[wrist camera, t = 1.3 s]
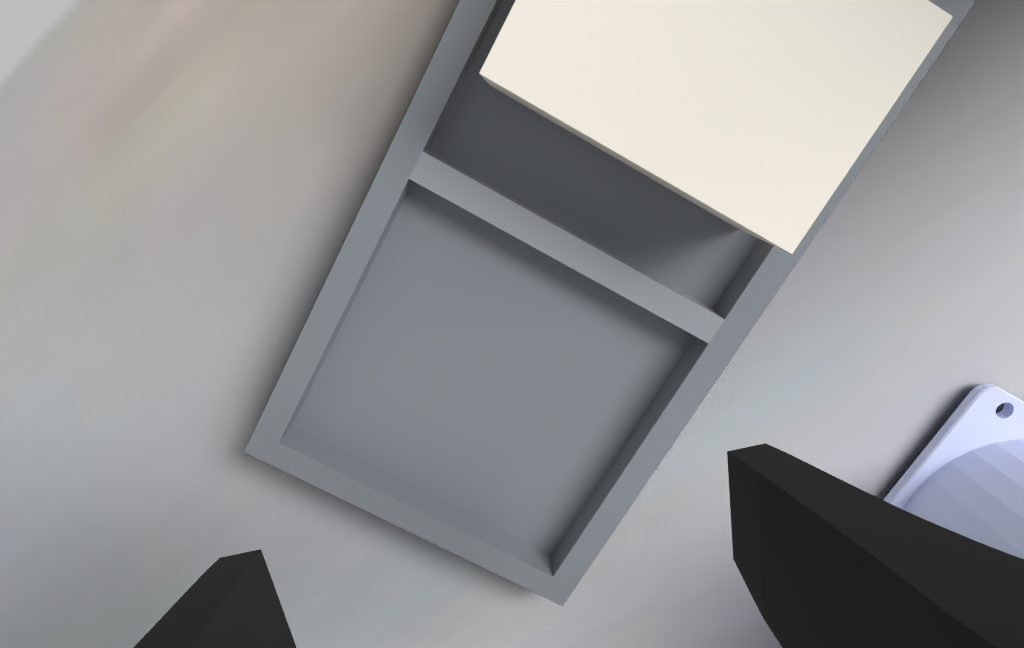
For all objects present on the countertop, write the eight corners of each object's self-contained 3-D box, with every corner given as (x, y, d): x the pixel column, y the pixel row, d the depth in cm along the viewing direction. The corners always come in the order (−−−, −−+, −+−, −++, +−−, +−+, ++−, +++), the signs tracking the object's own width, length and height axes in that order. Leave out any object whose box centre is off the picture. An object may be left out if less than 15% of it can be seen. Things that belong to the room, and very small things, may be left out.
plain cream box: (859, 42, 17) (952, 16, 14) (738, 229, 19) (792, 253, 15) (596, -124, 17) (616, -202, 13) (489, 86, 18) (479, 73, 14)
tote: (936, 12, 18) (975, 1, 16) (560, 574, 23) (562, 605, 21) (576, -220, 16) (582, -256, 15) (264, 429, 22) (243, 452, 20)
